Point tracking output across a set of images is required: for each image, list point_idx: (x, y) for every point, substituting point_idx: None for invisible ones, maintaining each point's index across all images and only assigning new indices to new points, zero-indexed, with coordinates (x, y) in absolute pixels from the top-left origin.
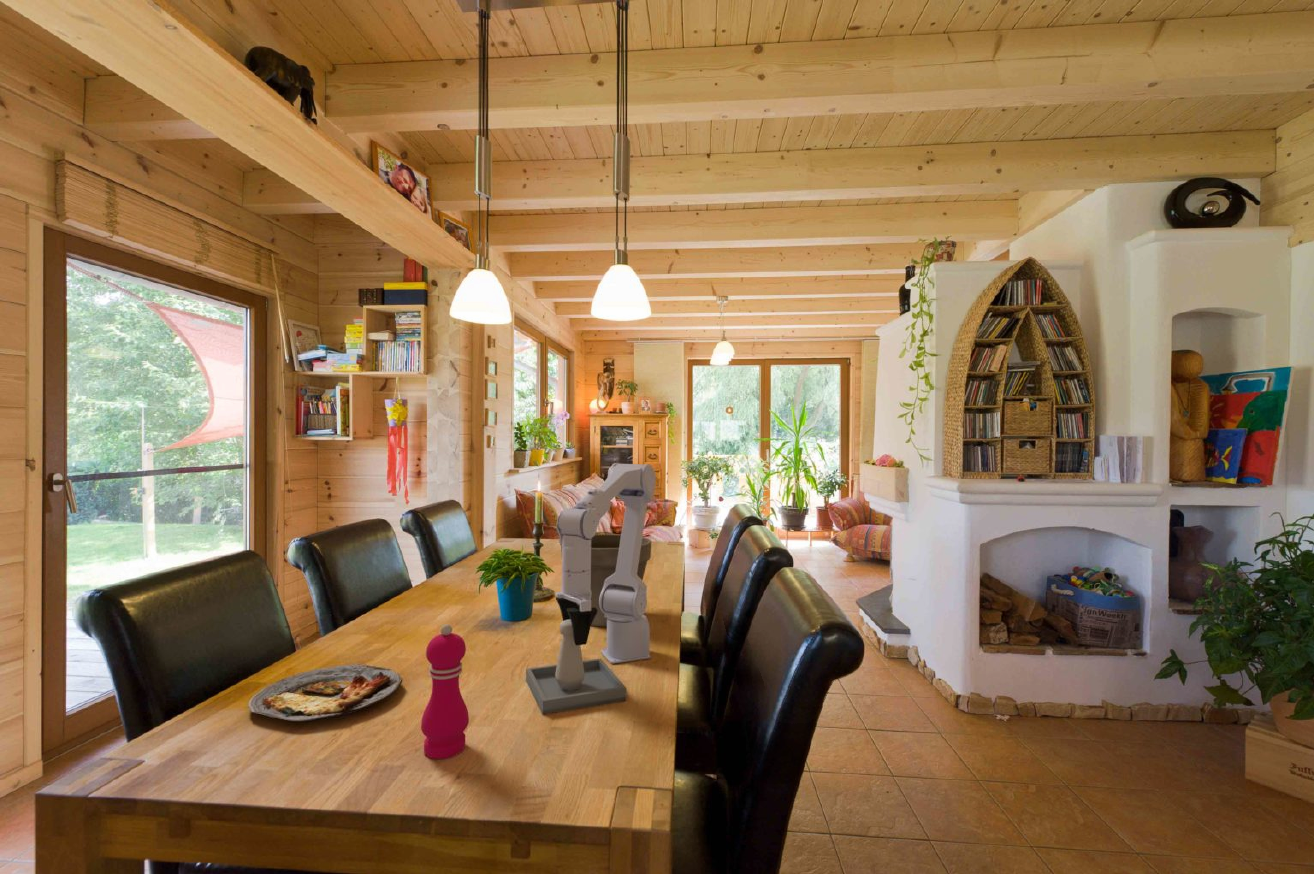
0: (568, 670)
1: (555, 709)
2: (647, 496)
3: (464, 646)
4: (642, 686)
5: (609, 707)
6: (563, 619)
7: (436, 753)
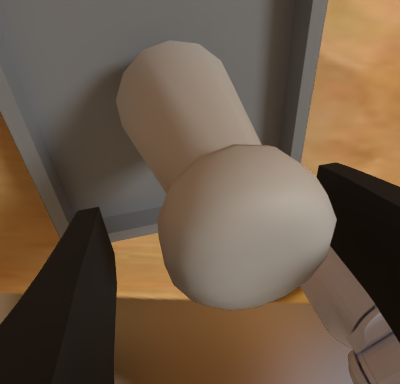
0: (127, 105)
1: None
2: None
3: None
4: (151, 259)
5: (27, 186)
6: (391, 201)
7: None
